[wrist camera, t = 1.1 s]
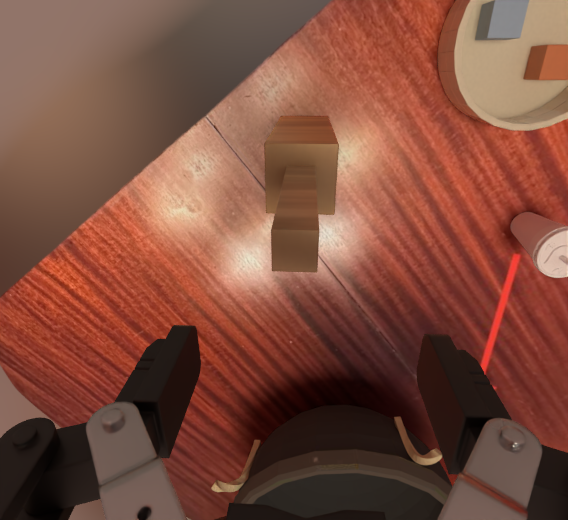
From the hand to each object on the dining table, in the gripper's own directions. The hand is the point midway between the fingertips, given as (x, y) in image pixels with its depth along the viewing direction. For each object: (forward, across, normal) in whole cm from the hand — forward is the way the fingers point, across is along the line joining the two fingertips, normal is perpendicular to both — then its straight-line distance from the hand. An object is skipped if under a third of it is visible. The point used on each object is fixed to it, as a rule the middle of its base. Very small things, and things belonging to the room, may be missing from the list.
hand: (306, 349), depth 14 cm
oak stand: (+41, +1, -1) cm, 41 cm away
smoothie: (+41, -30, +10) cm, 52 cm away
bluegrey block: (+40, -20, -14) cm, 47 cm away
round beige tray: (+41, -23, -12) cm, 49 cm away
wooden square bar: (+21, +1, -1) cm, 21 cm away
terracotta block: (+40, -27, -10) cm, 49 cm away
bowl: (+42, -7, +53) cm, 68 cm away
